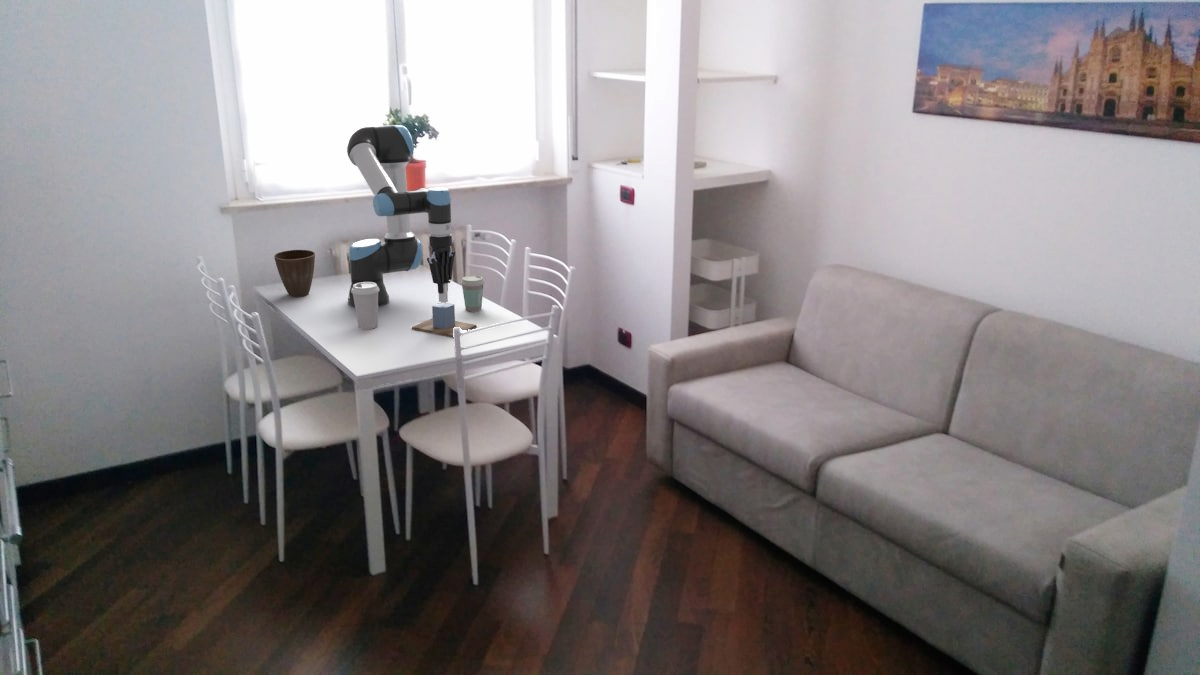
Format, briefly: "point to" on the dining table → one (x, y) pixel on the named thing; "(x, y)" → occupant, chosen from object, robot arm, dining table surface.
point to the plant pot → (296, 271)
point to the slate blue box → (443, 315)
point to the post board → (428, 327)
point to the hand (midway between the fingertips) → (443, 301)
